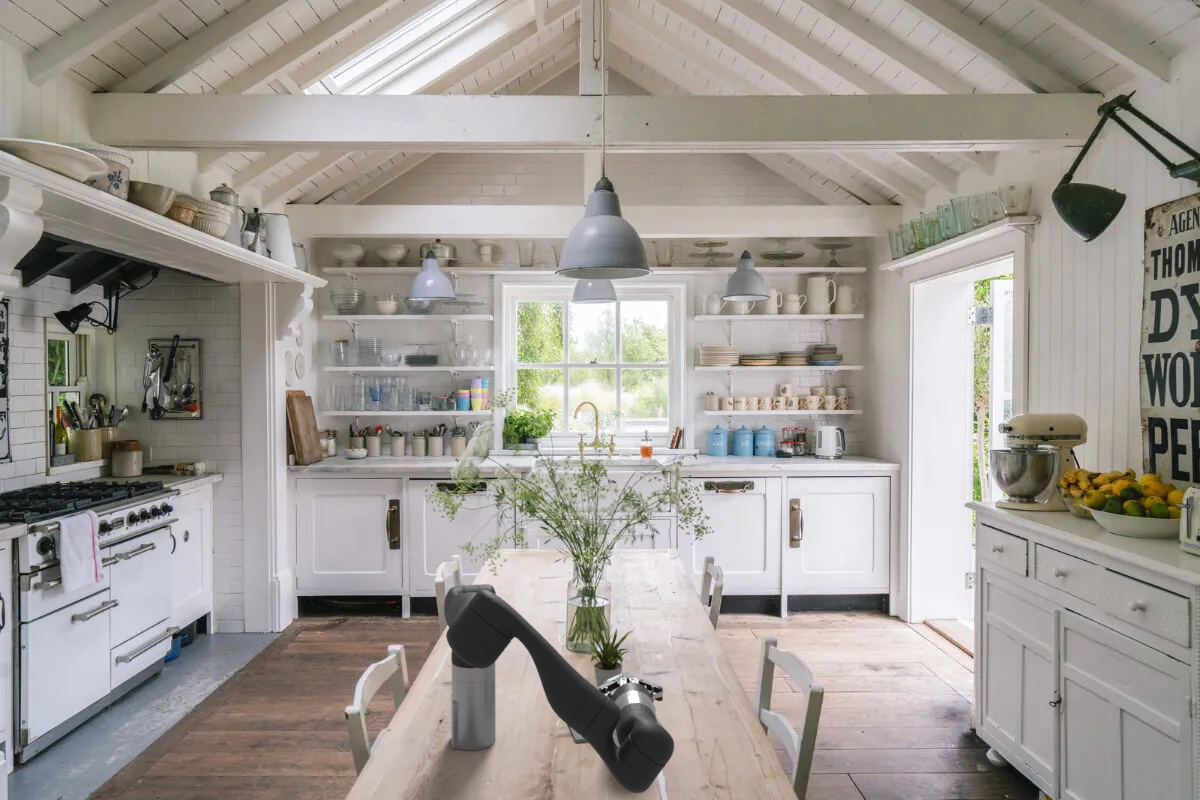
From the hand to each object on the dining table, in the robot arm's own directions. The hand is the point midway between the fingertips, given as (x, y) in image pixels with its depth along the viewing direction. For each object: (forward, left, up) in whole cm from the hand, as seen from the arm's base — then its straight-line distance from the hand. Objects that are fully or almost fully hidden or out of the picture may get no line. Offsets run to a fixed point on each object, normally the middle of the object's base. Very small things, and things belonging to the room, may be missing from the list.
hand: (626, 677), depth 157 cm
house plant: (+5, +40, -19) cm, 45 cm away
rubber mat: (+3, +22, -19) cm, 29 cm away
